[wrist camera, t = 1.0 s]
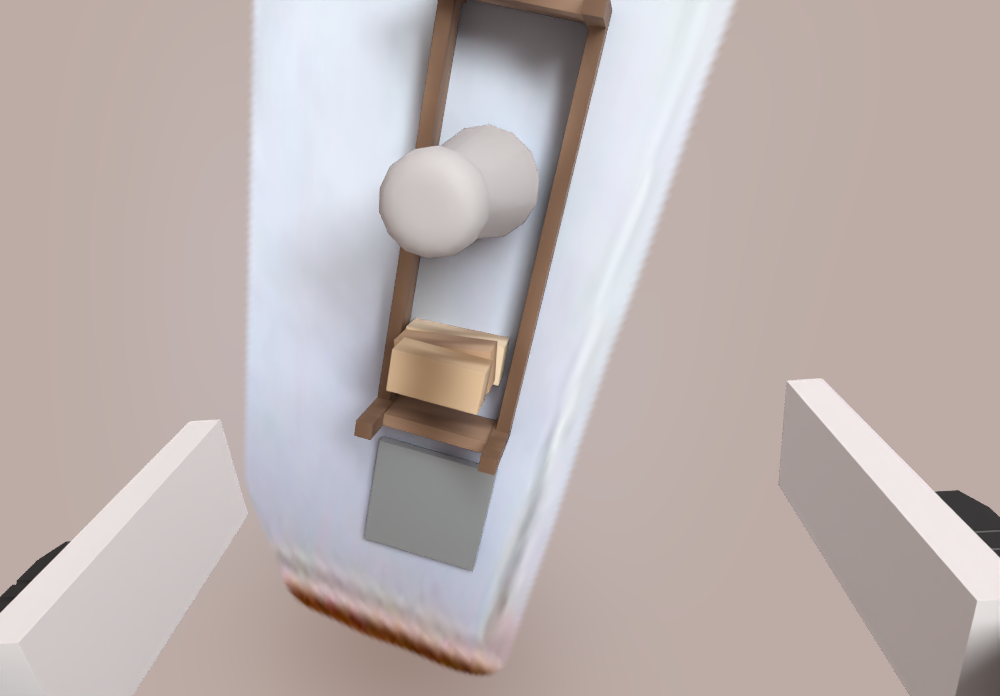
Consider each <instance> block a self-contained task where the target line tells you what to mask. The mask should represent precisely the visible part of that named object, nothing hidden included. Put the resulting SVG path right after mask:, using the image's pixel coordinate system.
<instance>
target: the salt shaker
mask: <svg viewBox="0 0 1000 696" xmlns="http://www.w3.org/2000/svg"><path fill="white" fill-rule="evenodd" d="M538 187H539V173H538V170H537V167H536V164H535V161H534V158H533V155H532V152H531V151H530V150H529V149H528V148H527V147H526V146H525V145H524V144H523V143H522V142H521V141H520V140H519V139H518V138H517V137H516V136H515V135H514V134H513V133H512V132H509V131H506V130H503V129H500V128H497V127H495V126H492V125H483V126H477V127H470V128H464V129H463V130H462V131H460V132H459V133H457V134H456V135H455V136H453V137H452V138H451V139H449V140H448V141H447V142H445V143H444V144H443V145H442V146H431V147H425V148H419V149H413V150H411V151H410V152H409V153H407V154H406V155H405V156H403V157H402V158H400V159H399V160H398V161H396V162H395V163H394V164H392V165H391V166H390V168H389V170H388V172H387V174H386V176H385V178H384V180H383V182H382V184H381V187H380V200H379V213H380V215H381V217H382V220H383V222H384V224H385V227H386V229H387V231H388V234H389V235H390V236H391V237H392V238H393V239H394V240H395V241H396V242H397V243H398V244H399V245H400V246H401V247H402V248H403V249H404V250H405V251H408V252H411V253H414V254H417V255H419V256H422V257H425V258H434V257H444V256H455V255H456V254H458V253H459V252H461V251H462V250H463V249H465V248H466V247H468V246H469V245H471V244H472V243H474V242H475V240H476V239H477V238H490V237H501V236H505V235H507V234H508V233H510V232H511V231H513V230H514V229H516V228H517V227H518V226H520V225H521V224H523V223H524V222H525V220H526V219H527V217H528V216H529V214H530V213H531V211H532V209H533V208H534V206H535V205H536V203H537V199H538Z"/></svg>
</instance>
